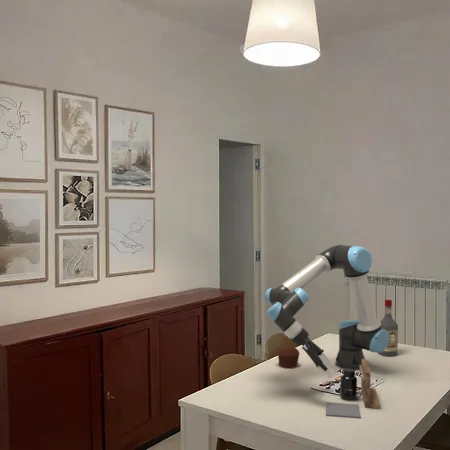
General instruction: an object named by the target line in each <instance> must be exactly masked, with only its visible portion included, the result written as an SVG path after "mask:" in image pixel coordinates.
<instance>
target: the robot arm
mask: <svg viewBox="0 0 450 450" xmlns="http://www.w3.org/2000/svg"><path fill="white" fill-rule="evenodd" d="M372 263H373V258H372V254H371V253H370V251H369V250H368V249H367V248H365V247H363V246H359V245H347V244H346V245H344V244H337V245H332V246H331V247H328V248H327V249H325V250H323V251H321V252H320V253H319V254H317V255H316V256H315V258H314V260H313V261H311V262H310V263H309V264H307V265H306V266H304V267H302V269H300V270H299V271H298V272H296V273H295V274H294V275H292V276H290V277H289V278H288V279H287V280H285V281H284V282H282V283H281V284H279V285H278V286H277V287H269V288H267V290H266V291H265V293H264V300H265V302H266V303H267V304H270V305H271V307H269V308H268V310H267V311H266V315H267V316H268V317H269V318H270V320H271V321H272V322H273V323H274V324H275V325H276V326H277V328H279V329H280V331H282V332H283V335H284V336H285V337H286V336H287V337H288V339H290V341H291V342H292V343H293V345H295V346H296V347H298V346H300V345H301V346H302V347H301V349H302V350H304V351H305V353H306V354H307V355H308V357H309V358H310V360H312V362H313V363H314V365H315V368H319V369H321V370H322V372H323V373H325V374H326V376H327V377H328V378H329V379H330V378H332V376H334V375H335V372H334V371H333V370H332V369H331V368H332V367H333V366H334V362H333V361H332V360H331V359H330V358H329V357H328V356H327V355H326V354H325V353H324V352H325V351H324V349H322V348H320V346H318V345H317V344H316V343H315V342H314V341H312V340H311V338H309V334H310V333H309V332H308V330H306V328H303V326H302V324H301V323H300V322H299V321H297V319H296V318H295V317H294V316H295V315H296V314H298V312H299V311H300V310H301V309H302V308H303V307H304V306H305V305H306V303H307V302H308V301H309V295H308V293H307V292H306V291H305V290H304V289H305V287H307V286H308V285H309V284H311V283H313V282H314V281H316V280H317V279H318V278H319V277H320V276H321V275H323V274H324V273H330V271H333V270H337V269H339V270H342V271H343V276H344V277H345V278H346V279H348V282H349V286H350V290H351V294H352V298H353V299H352V300H353V303H354V307H355V312H356V316H357V319H346V320H342V321H340V323H339V329H338V336H339V337H338V352H337V354H336V358H335V366H336V367H338V368H341V369H345V368H350V369H354V370H360V367H359V366H360V365H361V366H362V359H366V358H365V354H364V351H363V350H365V351H368V352H371V353H375V354H376V353H377V354H378V353H380V352H382V351H384V350H385V348H386V347H387V345H388V342H389V334H388V332H387V331H386V330H385V329H382V326H381V322H380V321H381V320H378V319H377V315H376V310H375V305H374V302H373V297H372V293H371V289H370V284H369V280H368V279H369V278H368V274H369V273H370V269H371V267H372Z"/></svg>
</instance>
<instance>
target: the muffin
mask: <svg viewBox="0 0 450 450" xmlns="http://www.w3.org/2000/svg"><path fill="white" fill-rule="evenodd" d="M276 354H277V358H278V364H279V366H280V367H281V368H282V369H283V368H284V369H295V368H297V367H298V363H299V357H300V351H299V349H297V348H296V347H295V346H293V345H283V346H281V347H280V348H279V349H278V350H277V352H276Z"/></svg>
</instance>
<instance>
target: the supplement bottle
mask: <svg viewBox="0 0 450 450" xmlns="http://www.w3.org/2000/svg"><path fill="white" fill-rule="evenodd" d="M342 370H343V371H342V375H341V376H340V381H339V383H340V385H339V388H340V389H339V397H340V398H341V399H342V400H344V401H355V400H356V399H357V390H358V389H357V388H358V379H357V376H356V369H350V368H345V369H344V368H342Z"/></svg>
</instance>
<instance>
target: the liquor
mask: <svg viewBox="0 0 450 450" xmlns="http://www.w3.org/2000/svg"><path fill="white" fill-rule="evenodd" d="M392 307H393V301H392V299H384V316H383V318H382V319H381V320H379V321H380V322H381V326H382V329H385V330H386V331H387V332H388V334H389V342H388V345H387V347H386V348H385V350H384V351H382V352H380V353H377V354H378V355H380V356H382V357H388V358H390V357H397V355H398V351H399V349H398V346H399V343H398V342H399V341H398V339H399V325H398V323H397V322H396V321H395V319H394V317H393V316H392Z"/></svg>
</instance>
